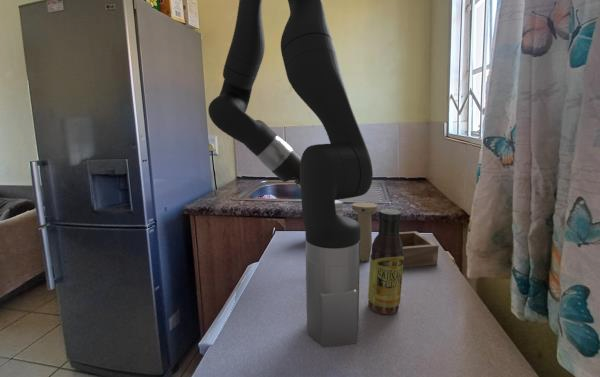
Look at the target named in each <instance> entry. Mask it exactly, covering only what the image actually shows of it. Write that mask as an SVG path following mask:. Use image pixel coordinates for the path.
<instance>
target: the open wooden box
mask: <svg viewBox="0 0 600 377" xmlns="http://www.w3.org/2000/svg"><path fill="white" fill-rule="evenodd" d="M399 236H400V239H401V241H402V244H403V254H404V261H403V268H409V267H410V268H411V267H412V268H414V267H420V266H421V267H422V266H431V265H438V258H439V256H438V255H439V245H438V244H437V243H436V242H434V241H433V240H430V239H429V238H427V237H426V236H424V235H423V234H421V233H419V232H418V231H416V230H413V231H399Z"/></svg>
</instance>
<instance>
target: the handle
mask: <svg viewBox="0 0 600 377" xmlns="http://www.w3.org/2000/svg"><path fill="white" fill-rule="evenodd" d="M351 206H352V207H351V209H352V211H353V212H355V213H356V214H357V222H358V223H359V225H360V261H361V262H369V261H370V259H371V254H372V244H373V242H372V241H373V236H372V234H373V233H372V214H373V213H376V212H377V211H378V207H379V206H378V204H377V203H374V202H373V203H372V202H363V201H361V202H359V201H358V202H354V203H351Z"/></svg>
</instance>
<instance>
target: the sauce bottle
mask: <svg viewBox="0 0 600 377" xmlns="http://www.w3.org/2000/svg"><path fill="white" fill-rule="evenodd" d="M378 218H379V225H378V228H379V229H378V234H377V235H376V236H375V238H374V239H373V242H372V246H371V253H370V259H369V261H370V262H369V276H368V288H367V289H368V291H367V299H368V307H369V308H370V310H371V311H372V312H375V313H378V314H382V315H391V314H394V313H396V312H398V311H399V308H400V307H399V306H400V304H401V295H402V283H403V282H402V280H403V271H404V270H403V269H404V267H403V261H404V254H403V244H402V241H401V239H400V236H399V232H400V221H402V220H401V219H402V212H401V211H400V210H397V209H391V208H382V209H380V210H379V212H378Z"/></svg>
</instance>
